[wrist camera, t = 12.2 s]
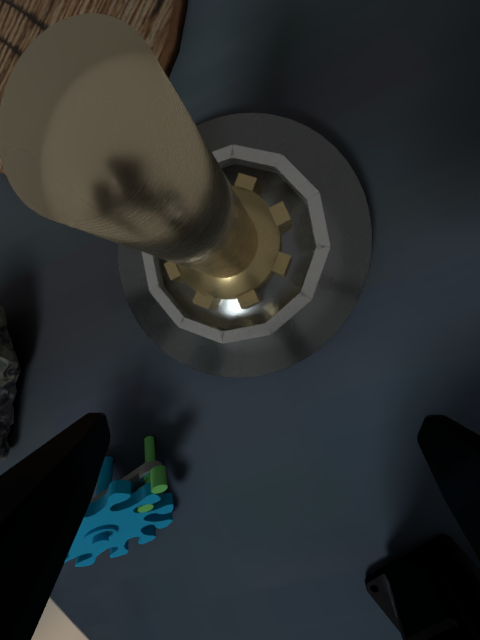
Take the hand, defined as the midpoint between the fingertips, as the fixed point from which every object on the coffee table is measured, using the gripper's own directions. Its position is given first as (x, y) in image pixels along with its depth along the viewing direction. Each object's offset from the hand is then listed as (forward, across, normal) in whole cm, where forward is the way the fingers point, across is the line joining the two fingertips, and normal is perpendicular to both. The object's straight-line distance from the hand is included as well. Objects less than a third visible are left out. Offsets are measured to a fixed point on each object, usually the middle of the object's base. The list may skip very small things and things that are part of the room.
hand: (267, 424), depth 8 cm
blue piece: (+9, +8, +16) cm, 21 cm away
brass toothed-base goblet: (+13, +1, -2) cm, 14 cm away
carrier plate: (+14, +1, -2) cm, 14 cm away
